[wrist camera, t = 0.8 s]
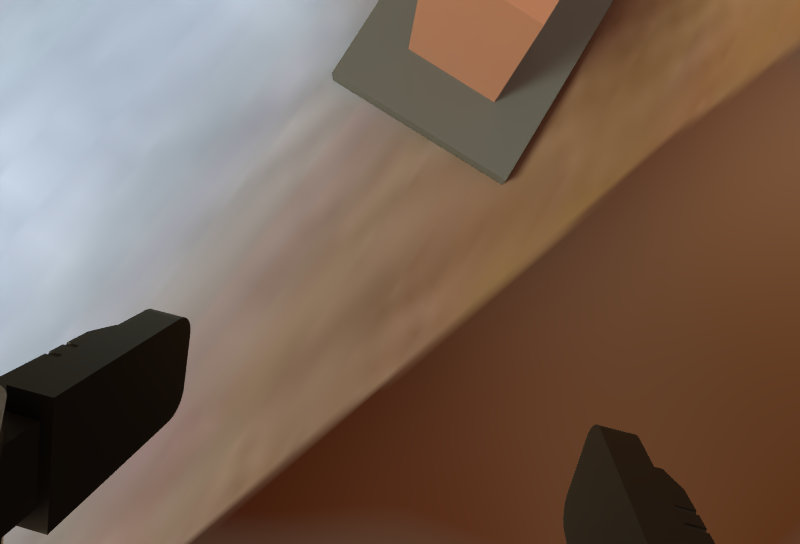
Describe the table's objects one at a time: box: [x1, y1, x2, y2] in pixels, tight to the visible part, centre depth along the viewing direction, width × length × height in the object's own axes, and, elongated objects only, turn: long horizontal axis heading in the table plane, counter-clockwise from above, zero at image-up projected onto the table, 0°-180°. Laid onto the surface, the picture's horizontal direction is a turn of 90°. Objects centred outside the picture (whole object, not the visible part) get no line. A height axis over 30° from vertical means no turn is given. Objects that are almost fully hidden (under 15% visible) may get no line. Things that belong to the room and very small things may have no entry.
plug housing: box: [408, 0, 559, 102], centre depth 29 cm, size 6×5×9 cm
